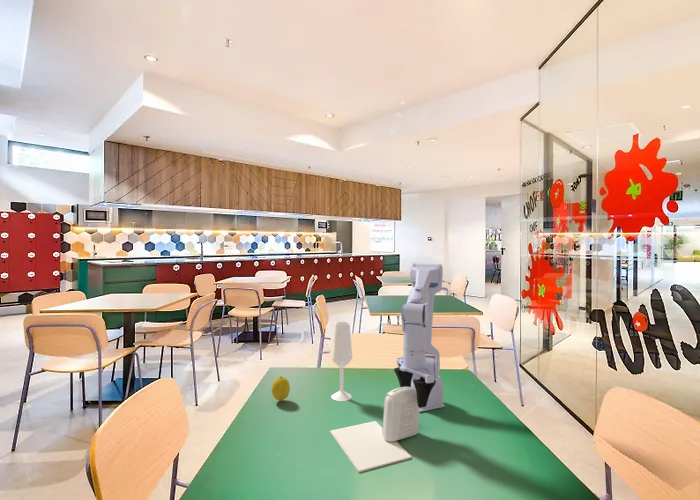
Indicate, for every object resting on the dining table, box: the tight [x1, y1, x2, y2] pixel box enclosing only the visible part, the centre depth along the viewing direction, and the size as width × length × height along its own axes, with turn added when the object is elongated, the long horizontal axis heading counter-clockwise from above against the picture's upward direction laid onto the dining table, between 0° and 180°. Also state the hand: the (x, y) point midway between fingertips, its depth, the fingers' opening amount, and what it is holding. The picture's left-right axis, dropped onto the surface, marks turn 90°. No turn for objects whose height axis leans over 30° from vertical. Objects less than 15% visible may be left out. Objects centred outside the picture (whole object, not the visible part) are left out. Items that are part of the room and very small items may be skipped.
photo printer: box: [382, 386, 420, 442], centre depth 92 cm, size 10×4×12 cm, turn 124°
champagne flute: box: [330, 321, 353, 402], centre depth 116 cm, size 7×7×24 cm
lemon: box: [271, 375, 291, 402], centre depth 112 cm, size 6×6×8 cm
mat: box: [329, 420, 412, 473], centre depth 88 cm, size 14×18×1 cm
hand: (413, 400), depth 94 cm, fingers open, 7 cm apart
